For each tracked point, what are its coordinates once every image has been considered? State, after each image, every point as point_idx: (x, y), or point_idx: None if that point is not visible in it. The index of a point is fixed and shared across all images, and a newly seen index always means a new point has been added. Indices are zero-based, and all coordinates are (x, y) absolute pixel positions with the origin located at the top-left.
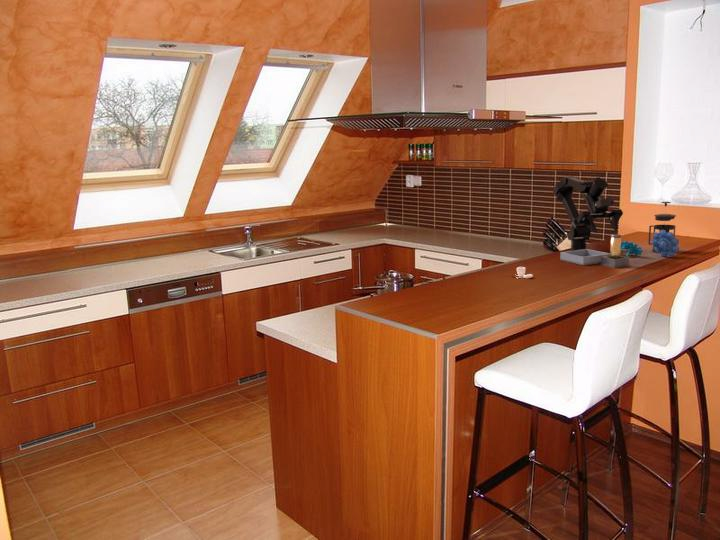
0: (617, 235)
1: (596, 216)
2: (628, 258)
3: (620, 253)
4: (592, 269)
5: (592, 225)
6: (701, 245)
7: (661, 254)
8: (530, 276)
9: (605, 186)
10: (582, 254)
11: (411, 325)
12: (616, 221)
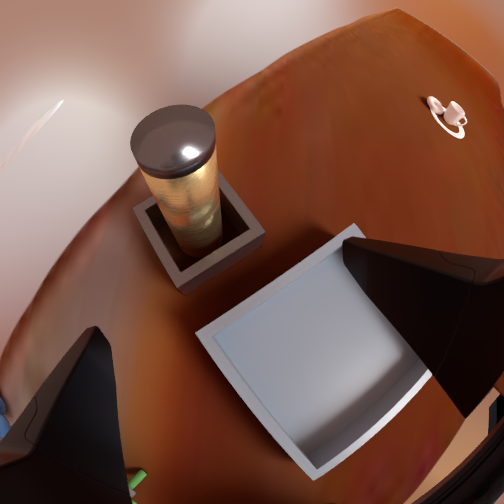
0: (170, 111)
1: (454, 491)
2: (136, 208)
3: (134, 476)
4: (303, 162)
5: (429, 253)
6: None
7: (2, 403)
8: (428, 97)
9: None
10: (334, 442)
11: (423, 23)
12: (30, 414)
